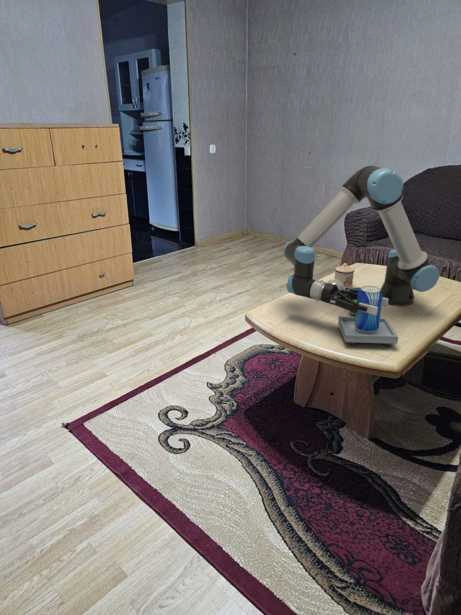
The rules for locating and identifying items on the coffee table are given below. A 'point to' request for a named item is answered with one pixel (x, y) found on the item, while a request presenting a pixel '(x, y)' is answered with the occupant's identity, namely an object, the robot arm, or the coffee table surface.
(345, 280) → the teacup with lid
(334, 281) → the potion bottle
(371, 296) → the beer can
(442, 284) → the coffee table surface
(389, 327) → the grey rimmed tray
